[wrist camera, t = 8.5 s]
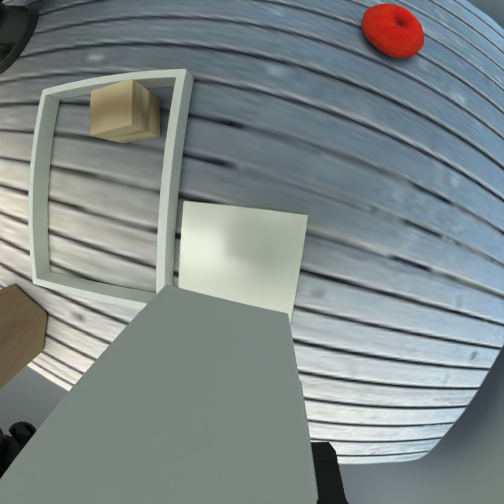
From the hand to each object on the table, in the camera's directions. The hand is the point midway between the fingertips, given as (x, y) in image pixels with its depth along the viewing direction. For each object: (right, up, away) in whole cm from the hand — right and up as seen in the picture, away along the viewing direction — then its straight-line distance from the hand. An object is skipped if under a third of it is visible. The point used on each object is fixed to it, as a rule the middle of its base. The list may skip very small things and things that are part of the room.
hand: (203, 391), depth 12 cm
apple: (+19, +34, +14) cm, 42 cm away
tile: (+1, +5, +21) cm, 22 cm away
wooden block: (-38, -5, +25) cm, 46 cm away
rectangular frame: (-17, +15, +20) cm, 30 cm away
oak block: (-11, +23, +18) cm, 31 cm away
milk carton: (0, +1, +4) cm, 4 cm away
